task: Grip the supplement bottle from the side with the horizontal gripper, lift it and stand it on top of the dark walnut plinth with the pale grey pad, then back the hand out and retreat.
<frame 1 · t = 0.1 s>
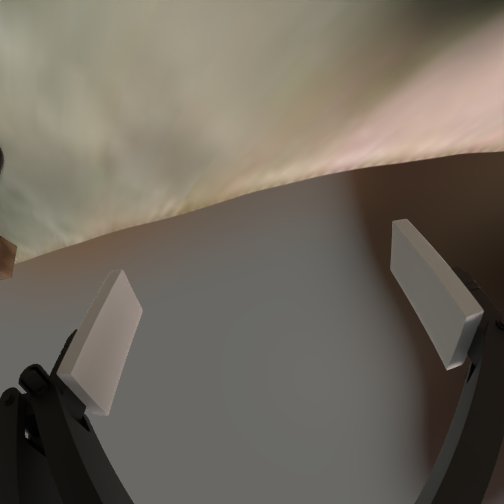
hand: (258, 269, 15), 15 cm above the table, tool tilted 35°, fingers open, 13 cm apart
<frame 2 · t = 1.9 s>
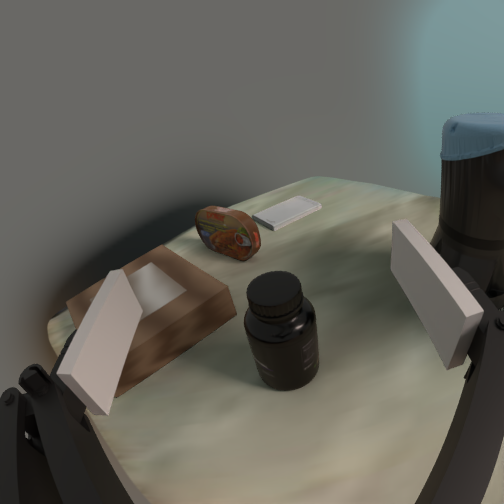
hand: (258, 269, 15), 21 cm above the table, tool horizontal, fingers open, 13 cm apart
plinth: (146, 321, 45), on the table
hard drive: (287, 216, 66), on the table
tin: (232, 252, 58), on the table
supplement bottle: (289, 369, 33), on the table
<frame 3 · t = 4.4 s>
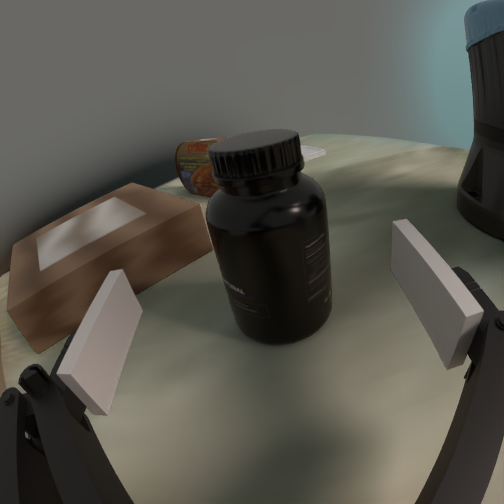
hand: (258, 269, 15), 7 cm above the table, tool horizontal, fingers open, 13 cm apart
plinth: (99, 265, 34), on the table
hard drive: (285, 163, 55), on the table
tin: (216, 194, 46), on the table
supplement bottle: (284, 314, 22), on the table
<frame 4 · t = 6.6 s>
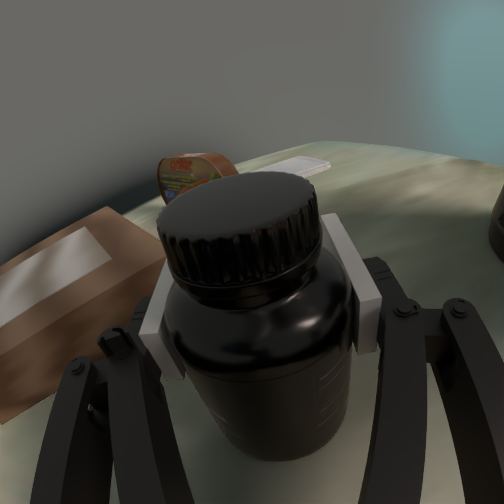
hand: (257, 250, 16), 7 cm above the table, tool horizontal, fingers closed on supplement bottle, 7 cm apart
plinth: (68, 310, 27), on the table
hard drive: (285, 178, 48), on the table
tin: (204, 218, 40), on the table
supplement bottle: (284, 411, 15), on the table, touching gripper
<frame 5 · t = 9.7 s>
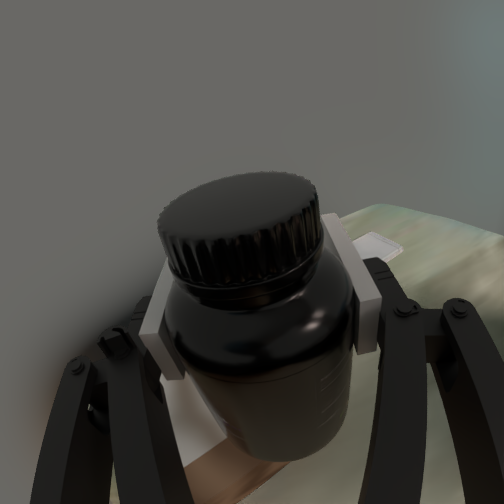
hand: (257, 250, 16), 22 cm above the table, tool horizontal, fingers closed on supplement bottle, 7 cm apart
plinth: (207, 421, 31), on the table
hard drive: (363, 260, 52), on the table
supplement bottle: (285, 412, 15), point 15 cm above the table, touching gripper
when the fingers open (13 cm above the table, at t = 13.1 s): supplement bottle drops 1 cm, resting on plinth.
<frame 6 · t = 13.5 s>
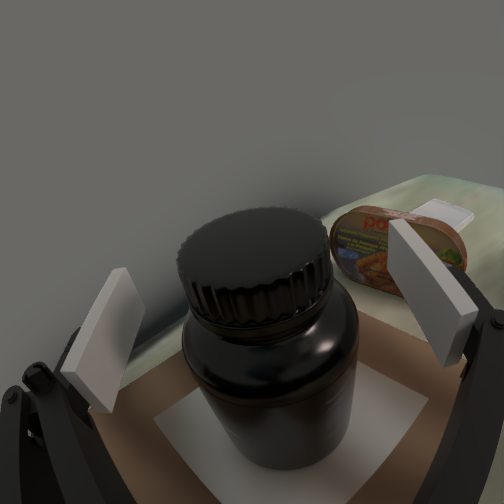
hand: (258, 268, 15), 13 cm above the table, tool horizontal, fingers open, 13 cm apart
plinth: (294, 450, 19), on the table
hard drive: (433, 227, 40), on the table
tin: (394, 286, 31), on the table
supplement bottle: (290, 422, 16), point 5 cm above the table, touching plinth
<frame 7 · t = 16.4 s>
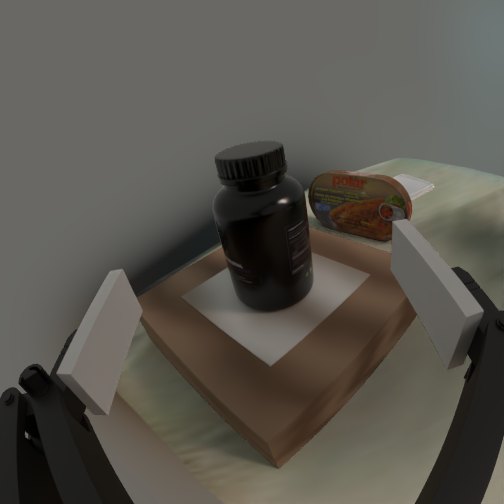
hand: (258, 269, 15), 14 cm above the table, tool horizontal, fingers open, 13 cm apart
plinth: (281, 328, 30), on the table
hard drive: (398, 195, 51), on the table
tin: (360, 231, 42), on the table
supplement bottle: (275, 289, 27), point 5 cm above the table, touching plinth
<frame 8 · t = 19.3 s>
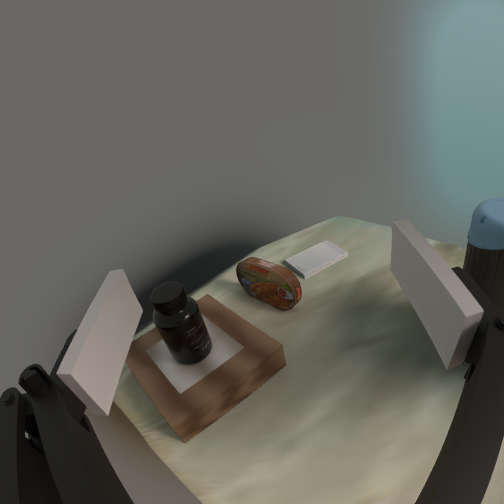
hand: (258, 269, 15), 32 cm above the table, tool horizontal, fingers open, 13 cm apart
plinth: (201, 369, 50), on the table
hard drive: (316, 262, 71), on the table
tin: (271, 299, 63), on the table
supplement bottle: (193, 350, 47), point 5 cm above the table, touching plinth
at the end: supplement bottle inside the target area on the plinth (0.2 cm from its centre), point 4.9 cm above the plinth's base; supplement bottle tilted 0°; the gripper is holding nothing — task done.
